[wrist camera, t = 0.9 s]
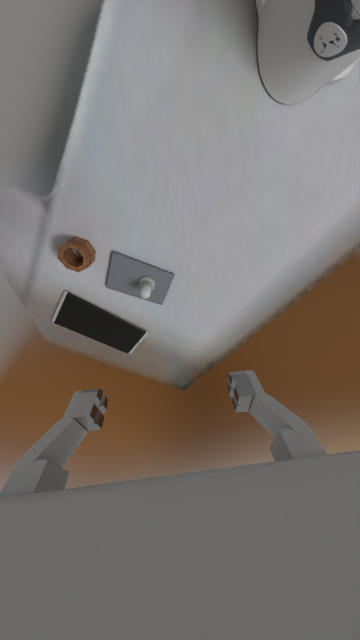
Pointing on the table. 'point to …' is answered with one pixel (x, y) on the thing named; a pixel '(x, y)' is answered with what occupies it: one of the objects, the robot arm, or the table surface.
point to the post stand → (138, 278)
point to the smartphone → (97, 323)
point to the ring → (71, 259)
